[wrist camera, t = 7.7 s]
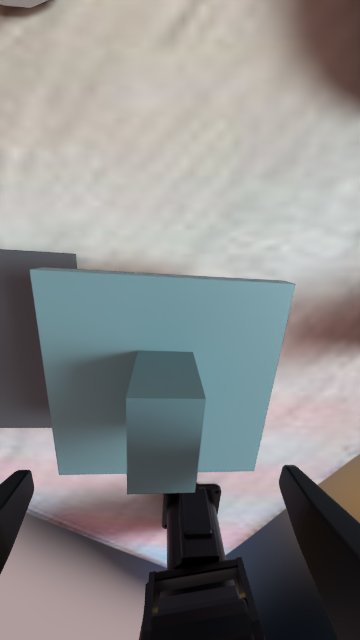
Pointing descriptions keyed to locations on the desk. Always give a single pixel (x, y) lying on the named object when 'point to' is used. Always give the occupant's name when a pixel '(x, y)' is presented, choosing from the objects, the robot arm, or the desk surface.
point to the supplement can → (21, 3)
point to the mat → (23, 340)
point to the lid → (158, 371)
